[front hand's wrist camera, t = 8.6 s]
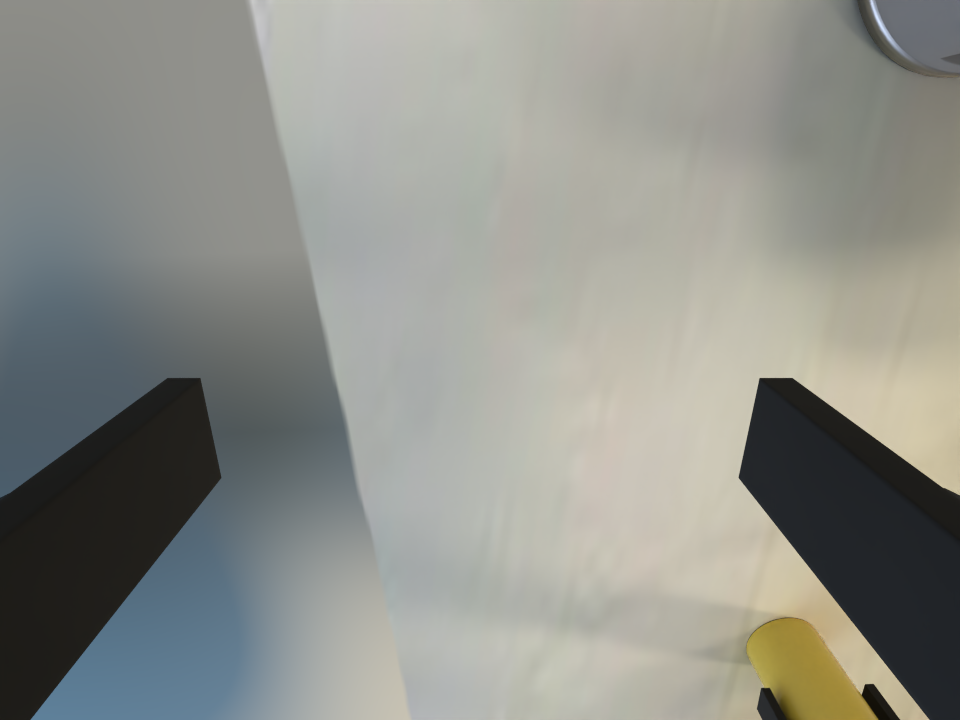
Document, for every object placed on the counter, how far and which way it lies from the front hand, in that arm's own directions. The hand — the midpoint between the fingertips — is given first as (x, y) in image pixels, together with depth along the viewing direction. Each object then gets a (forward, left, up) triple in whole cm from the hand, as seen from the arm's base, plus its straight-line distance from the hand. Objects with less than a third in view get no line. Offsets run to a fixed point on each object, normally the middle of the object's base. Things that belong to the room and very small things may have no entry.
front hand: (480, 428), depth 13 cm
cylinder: (-50, +5, -28) cm, 57 cm away
